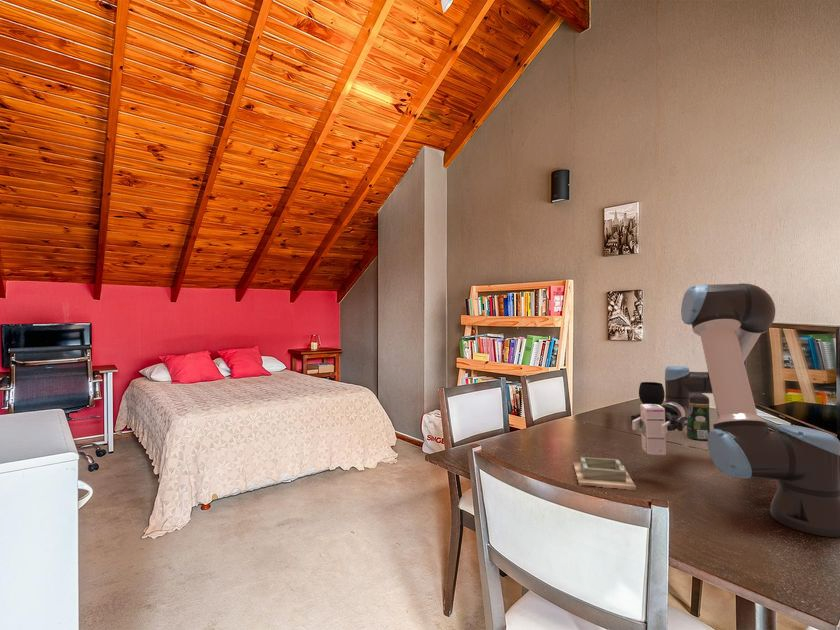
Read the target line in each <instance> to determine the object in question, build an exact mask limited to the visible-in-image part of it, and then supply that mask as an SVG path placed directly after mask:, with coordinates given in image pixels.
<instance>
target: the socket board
mask: <svg viewBox="0 0 840 630" xmlns="http://www.w3.org/2000/svg"><path fill="white" fill-rule="evenodd" d="M579 457H580V461H579V462H577V461H575V462H574V461H573V463H572V464H573V465H574V466H573V469H575V470H574V472H575V473H576V474H575V477H576V476H577V477H576V481H577V480H578V481H577V484H579V485H578V486H579V487H582V486H581V485H592V486H596V487H595V488H599V487H603V488H602V489H611V488H618V489H617V490H624V489H626V490H625V491H636V490H637V486H636V484H635V483H634V481H633V480H632V478H631V475H630V474H629V473H628V471H627V469H626V467H625V466H624V465H622V463H621V461H620V459H618V458H606V457H605V458H603V457H592V456H591V457H588V456H586V457H585V456H579Z"/></svg>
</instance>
